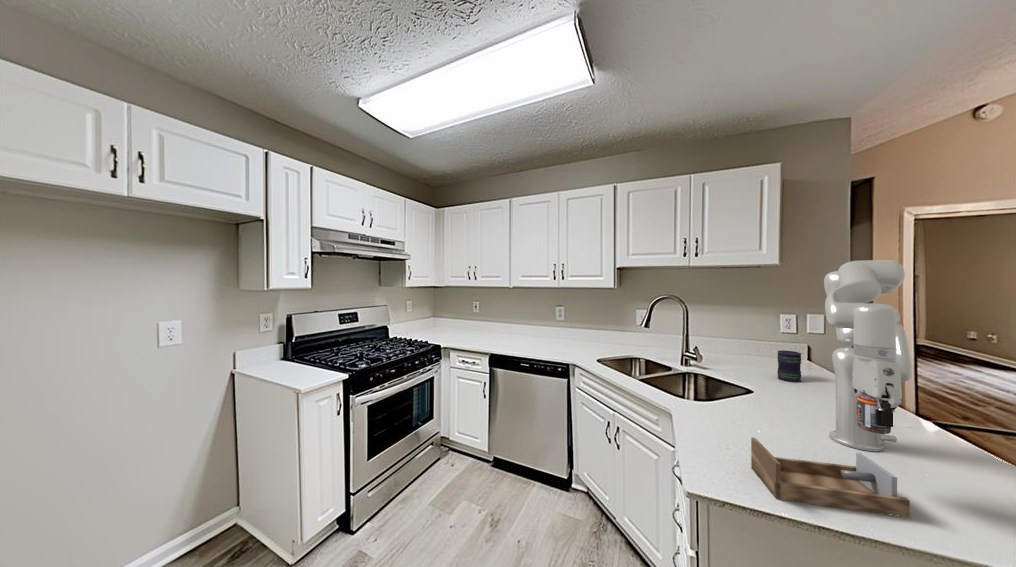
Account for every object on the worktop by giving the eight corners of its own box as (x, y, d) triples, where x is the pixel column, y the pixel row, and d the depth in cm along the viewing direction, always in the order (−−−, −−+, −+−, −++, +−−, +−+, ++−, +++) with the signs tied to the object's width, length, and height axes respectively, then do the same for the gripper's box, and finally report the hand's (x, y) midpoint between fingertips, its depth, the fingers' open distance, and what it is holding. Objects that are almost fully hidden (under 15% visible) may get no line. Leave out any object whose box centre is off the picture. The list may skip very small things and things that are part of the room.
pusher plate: (860, 479, 88) (860, 453, 88) (897, 507, 78) (897, 477, 77) (828, 475, 90) (828, 449, 90) (859, 502, 79) (859, 473, 79)
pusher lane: (862, 481, 89) (862, 448, 89) (909, 517, 76) (909, 478, 76) (751, 468, 96) (751, 437, 96) (775, 498, 83) (775, 463, 83)
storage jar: (799, 383, 172) (799, 355, 171) (775, 379, 179) (775, 352, 179) (803, 380, 178) (803, 352, 178) (779, 376, 185) (779, 349, 185)
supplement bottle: (855, 423, 91) (855, 382, 91) (888, 429, 87) (888, 386, 87) (858, 430, 87) (858, 387, 87) (893, 437, 83) (893, 392, 83)
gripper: (922, 361, 78) (922, 437, 78) (868, 347, 94) (868, 410, 94) (880, 358, 80) (880, 433, 80) (835, 345, 96) (835, 407, 96)
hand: (874, 420), depth 87 cm, fingers closed on supplement bottle, 6 cm apart
